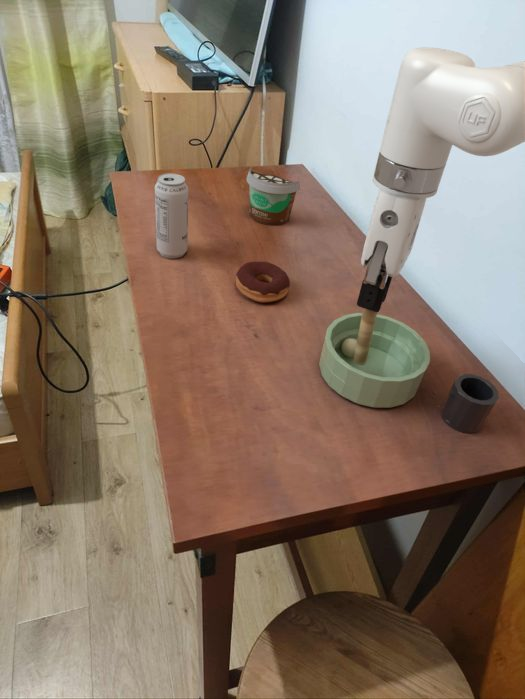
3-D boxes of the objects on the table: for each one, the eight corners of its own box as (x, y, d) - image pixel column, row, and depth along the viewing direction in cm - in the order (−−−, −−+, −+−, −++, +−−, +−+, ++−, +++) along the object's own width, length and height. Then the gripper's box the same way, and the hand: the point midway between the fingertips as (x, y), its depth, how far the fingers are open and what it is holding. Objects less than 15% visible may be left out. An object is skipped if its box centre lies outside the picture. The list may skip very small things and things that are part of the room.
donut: (294, 304, 92) (297, 286, 89) (240, 307, 90) (242, 288, 87) (281, 274, 99) (283, 256, 97) (231, 275, 97) (232, 257, 94)
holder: (472, 402, 77) (488, 374, 73) (489, 433, 73) (506, 404, 69) (435, 402, 76) (448, 373, 73) (449, 433, 72) (464, 404, 68)
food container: (234, 218, 115) (238, 175, 108) (245, 208, 119) (249, 166, 113) (285, 233, 112) (292, 189, 106) (294, 222, 117) (301, 179, 110)
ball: (365, 355, 81) (362, 337, 81) (354, 356, 79) (352, 336, 79) (349, 357, 83) (347, 339, 83) (338, 358, 81) (336, 339, 81)
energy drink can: (190, 258, 100) (191, 185, 90) (160, 261, 98) (157, 186, 88) (183, 243, 104) (184, 171, 95) (154, 245, 102) (151, 172, 93)
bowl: (401, 342, 87) (411, 314, 83) (431, 411, 75) (445, 382, 71) (311, 340, 85) (318, 311, 81) (328, 410, 73) (336, 380, 69)
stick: (364, 356, 78) (383, 264, 68) (368, 364, 76) (388, 271, 66) (351, 357, 78) (369, 264, 68) (355, 365, 76) (374, 272, 66)
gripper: (426, 205, 52) (381, 343, 64) (451, 161, 63) (409, 285, 75) (357, 187, 54) (326, 324, 66) (393, 146, 65) (361, 269, 77)
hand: (370, 302), depth 71 cm, fingers closed on stick, 2 cm apart
